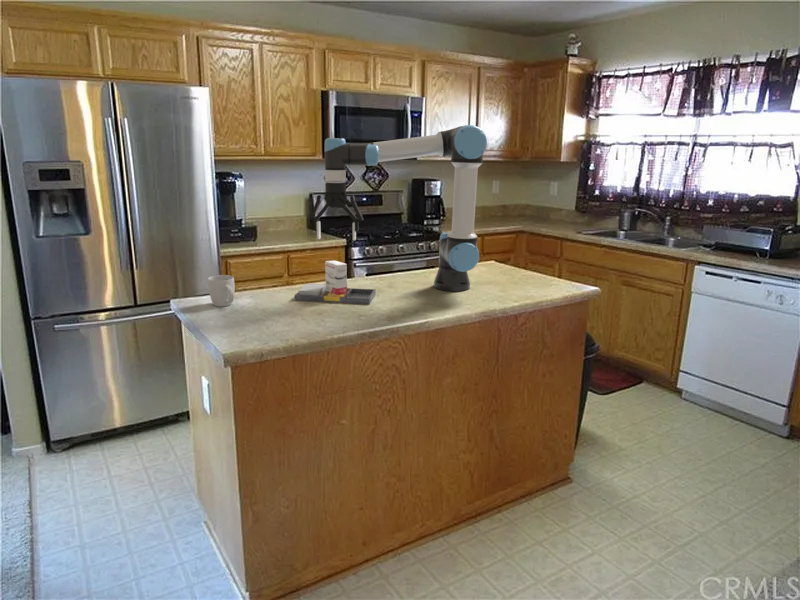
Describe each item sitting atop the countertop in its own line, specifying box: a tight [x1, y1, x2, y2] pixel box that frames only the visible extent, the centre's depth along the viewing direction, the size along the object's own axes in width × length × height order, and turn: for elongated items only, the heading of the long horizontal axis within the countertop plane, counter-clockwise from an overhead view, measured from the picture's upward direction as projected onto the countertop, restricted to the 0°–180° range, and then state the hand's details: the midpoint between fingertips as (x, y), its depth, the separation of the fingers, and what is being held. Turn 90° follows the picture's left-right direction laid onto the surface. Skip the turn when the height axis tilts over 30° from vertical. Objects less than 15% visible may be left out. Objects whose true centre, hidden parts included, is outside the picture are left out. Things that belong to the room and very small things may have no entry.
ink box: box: [324, 260, 348, 295], centre depth 211 cm, size 8×5×12 cm, turn 39°
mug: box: [207, 274, 236, 308], centre depth 198 cm, size 13×9×10 cm
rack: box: [294, 287, 377, 305], centre depth 213 cm, size 29×14×2 cm, turn 83°
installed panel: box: [298, 283, 326, 296], centre depth 213 cm, size 8×11×3 cm
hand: (336, 239), depth 207 cm, fingers open, 13 cm apart
